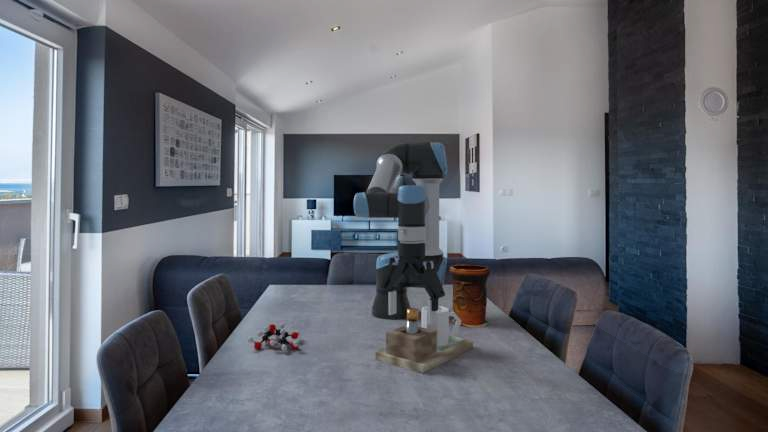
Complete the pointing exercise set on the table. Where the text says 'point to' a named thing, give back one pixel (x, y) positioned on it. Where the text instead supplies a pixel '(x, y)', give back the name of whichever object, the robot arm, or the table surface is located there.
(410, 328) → the cylindrical pin
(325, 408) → the table surface
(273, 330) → the molecular model
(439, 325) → the mug
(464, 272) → the vessel
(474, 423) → the table surface
